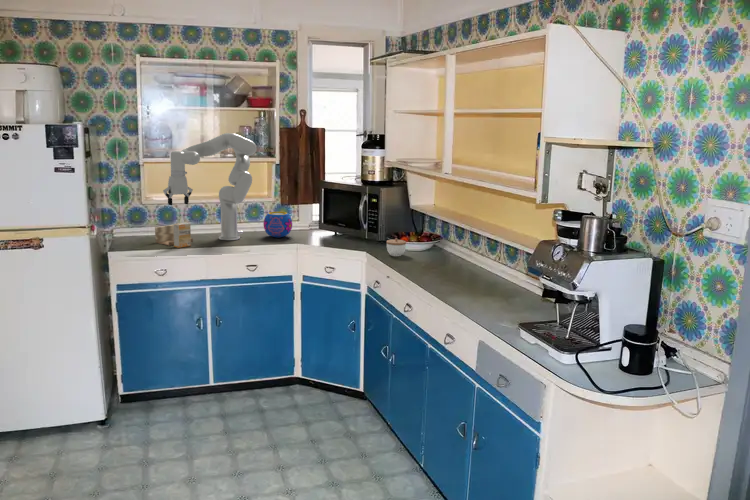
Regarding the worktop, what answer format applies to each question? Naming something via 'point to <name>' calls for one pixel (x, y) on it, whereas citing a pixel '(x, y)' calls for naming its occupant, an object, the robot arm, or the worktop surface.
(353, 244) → the worktop surface
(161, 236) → the patterned wooden bookend
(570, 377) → the worktop surface
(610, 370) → the worktop surface
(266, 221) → the ceramic pot
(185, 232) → the supplement box
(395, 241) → the lidded jar
